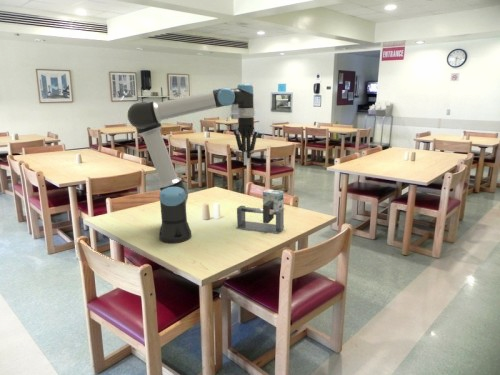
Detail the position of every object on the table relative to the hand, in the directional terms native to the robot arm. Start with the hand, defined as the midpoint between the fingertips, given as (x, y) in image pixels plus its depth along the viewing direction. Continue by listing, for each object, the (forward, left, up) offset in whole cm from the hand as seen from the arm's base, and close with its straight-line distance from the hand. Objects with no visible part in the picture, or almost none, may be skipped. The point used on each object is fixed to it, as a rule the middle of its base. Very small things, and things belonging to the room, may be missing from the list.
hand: (246, 164), depth 187 cm
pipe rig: (+8, -4, -31) cm, 33 cm away
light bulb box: (+4, +29, -32) cm, 43 cm away
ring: (+13, -4, -27) cm, 30 cm away
